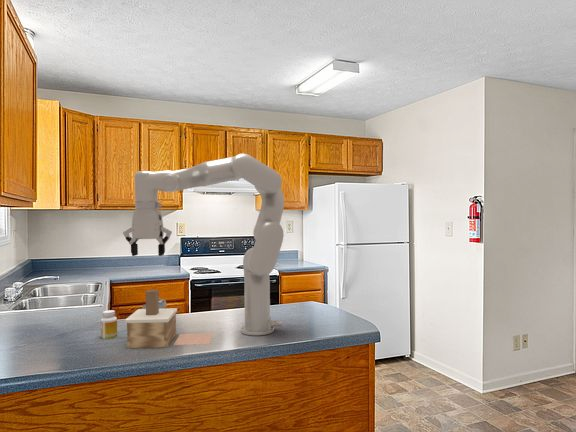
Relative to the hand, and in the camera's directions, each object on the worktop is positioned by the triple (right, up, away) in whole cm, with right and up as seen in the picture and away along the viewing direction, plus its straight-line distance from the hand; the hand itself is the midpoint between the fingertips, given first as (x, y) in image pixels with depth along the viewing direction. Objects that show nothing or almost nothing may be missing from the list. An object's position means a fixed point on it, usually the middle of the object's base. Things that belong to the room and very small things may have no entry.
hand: (148, 255), depth 152 cm
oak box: (+2, -30, -1) cm, 30 cm away
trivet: (+16, -30, 0) cm, 34 cm away
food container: (-2, -30, +17) cm, 35 cm away
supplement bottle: (-15, -30, +4) cm, 34 cm away
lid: (+2, -21, -2) cm, 21 cm away
